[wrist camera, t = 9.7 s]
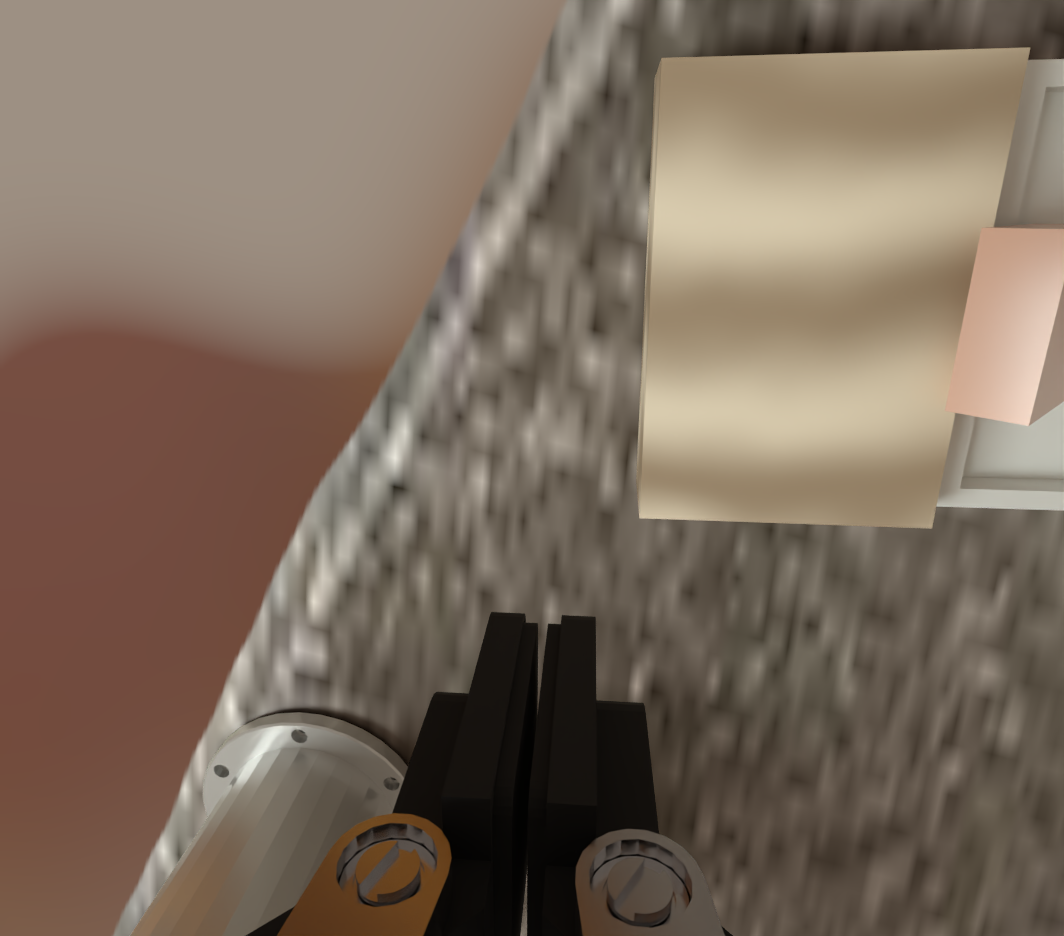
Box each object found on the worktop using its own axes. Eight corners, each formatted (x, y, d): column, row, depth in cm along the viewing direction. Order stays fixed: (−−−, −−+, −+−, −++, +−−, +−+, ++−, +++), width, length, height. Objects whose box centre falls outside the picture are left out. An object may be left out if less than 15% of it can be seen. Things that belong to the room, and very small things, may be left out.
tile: (999, 382, 28) (1075, 393, 27) (944, 410, 25) (1028, 425, 23) (1035, 223, 26) (1119, 224, 25) (981, 227, 23) (1076, 229, 21)
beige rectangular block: (893, 489, 31) (931, 528, 27) (636, 481, 32) (639, 518, 28) (968, 70, 25) (1030, 47, 22) (654, 78, 26) (661, 58, 23)
